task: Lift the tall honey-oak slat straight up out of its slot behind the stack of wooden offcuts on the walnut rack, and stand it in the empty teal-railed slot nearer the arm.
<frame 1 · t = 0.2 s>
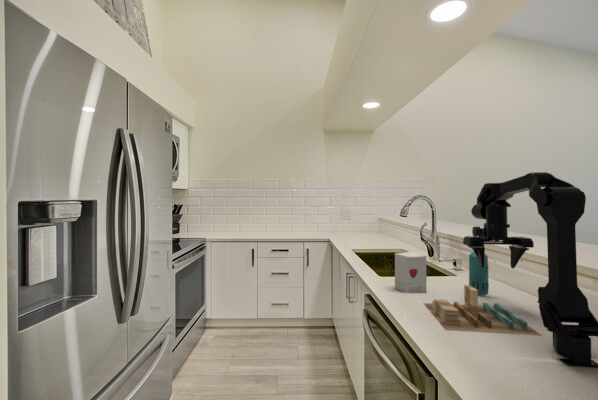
hand: (497, 267, 91), 14 cm above the worktop, tool pointing down, fingers open, 9 cm apart
supplement box: (410, 291, 112), on the worktop
sheet: (471, 316, 84), point 1 cm above the worktop, touching rack
offcut stack: (445, 315, 85), point 1 cm above the worktop, touching rack
beverage bottle: (478, 296, 105), on the worktop
rack: (471, 320, 84), on the worktop
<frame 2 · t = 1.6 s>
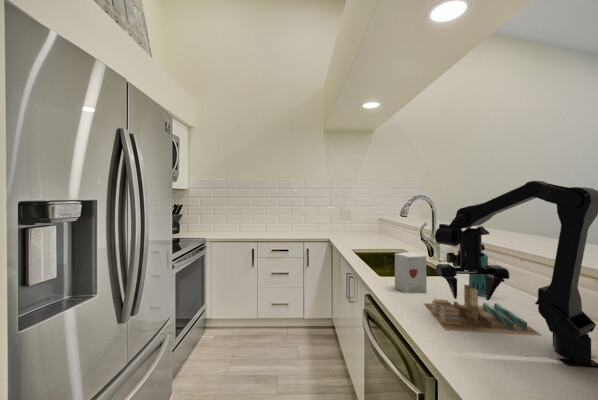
hand: (471, 299, 84), 6 cm above the worktop, tool pointing down, fingers open, 9 cm apart
nothing on the worktop moved.
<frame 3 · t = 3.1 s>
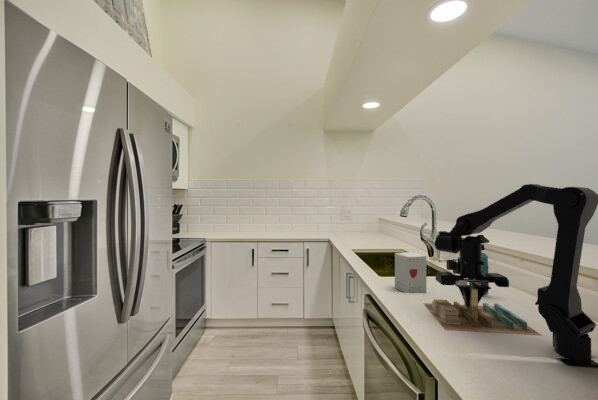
hand: (471, 307, 84), 4 cm above the worktop, tool pointing down, fingers closed on sheet, 2 cm apart
sheet: (471, 316, 84), point 1 cm above the worktop, touching gripper, rack
everything else where it was.
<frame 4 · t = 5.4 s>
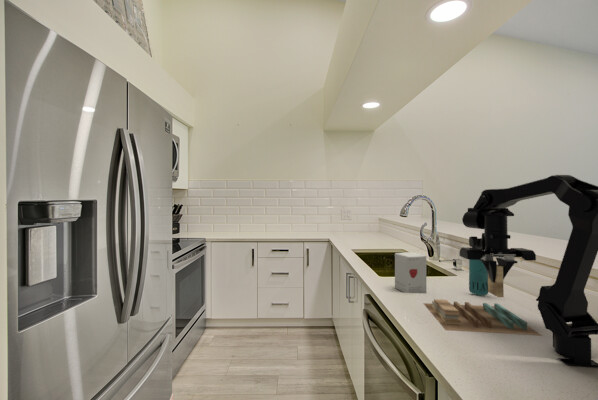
hand: (496, 282, 83), 12 cm above the worktop, tool pointing down, fingers closed on sheet
sheet: (495, 294, 83), point 8 cm above the worktop, touching gripper
everything else where it was.
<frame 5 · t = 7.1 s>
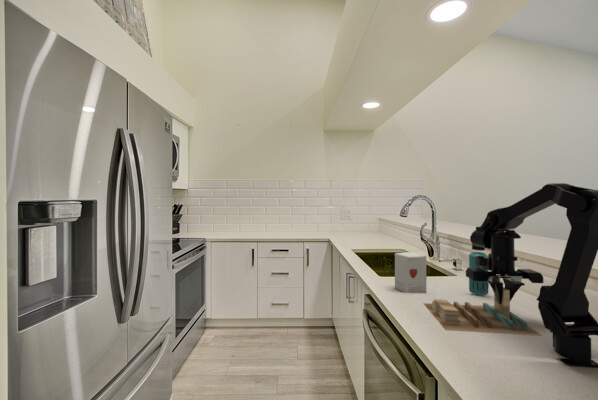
hand: (503, 303, 82), 5 cm above the worktop, tool pointing down, fingers closed on sheet, 2 cm apart
sheet: (502, 317, 83), point 1 cm above the worktop, touching gripper
everything else where it was.
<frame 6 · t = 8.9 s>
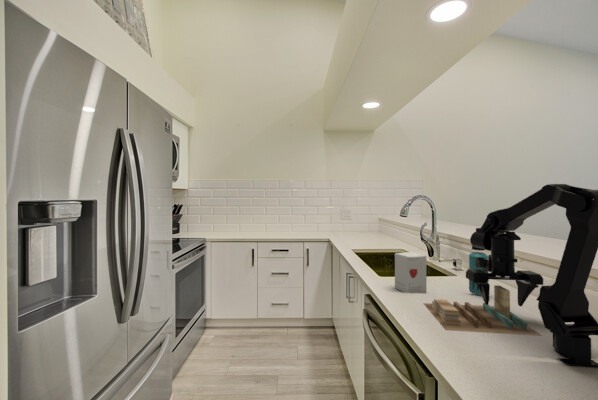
hand: (503, 305, 82), 5 cm above the worktop, tool pointing down, fingers open, 9 cm apart
sheet: (502, 317, 83), point 1 cm above the worktop, touching rack
everything else where it was.
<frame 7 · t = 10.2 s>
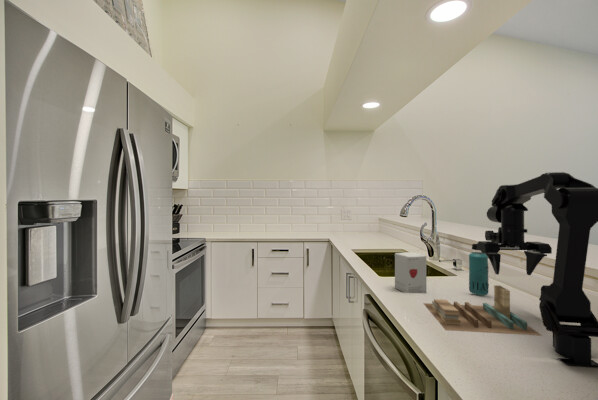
hand: (512, 274, 86), 13 cm above the worktop, tool pointing down, fingers open, 9 cm apart
nothing on the worktop moved.
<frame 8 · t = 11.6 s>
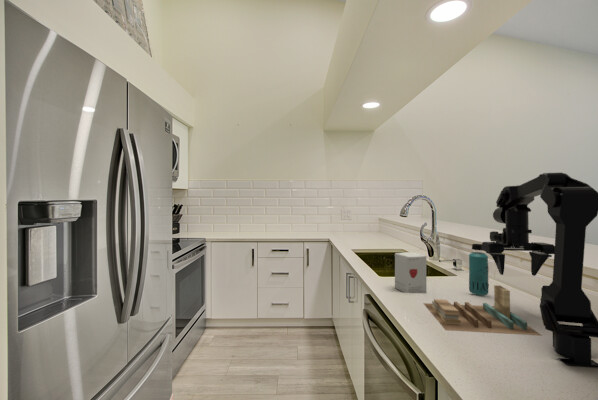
hand: (517, 274, 86), 13 cm above the worktop, tool pointing down, fingers open, 9 cm apart
nothing on the worktop moved.
at the end: sheet 0.6 cm from the target spot on the rack, point 1.0 cm above the rack's base; sheet tilted 0°; offcut stack moved 0.0 cm from its start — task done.
